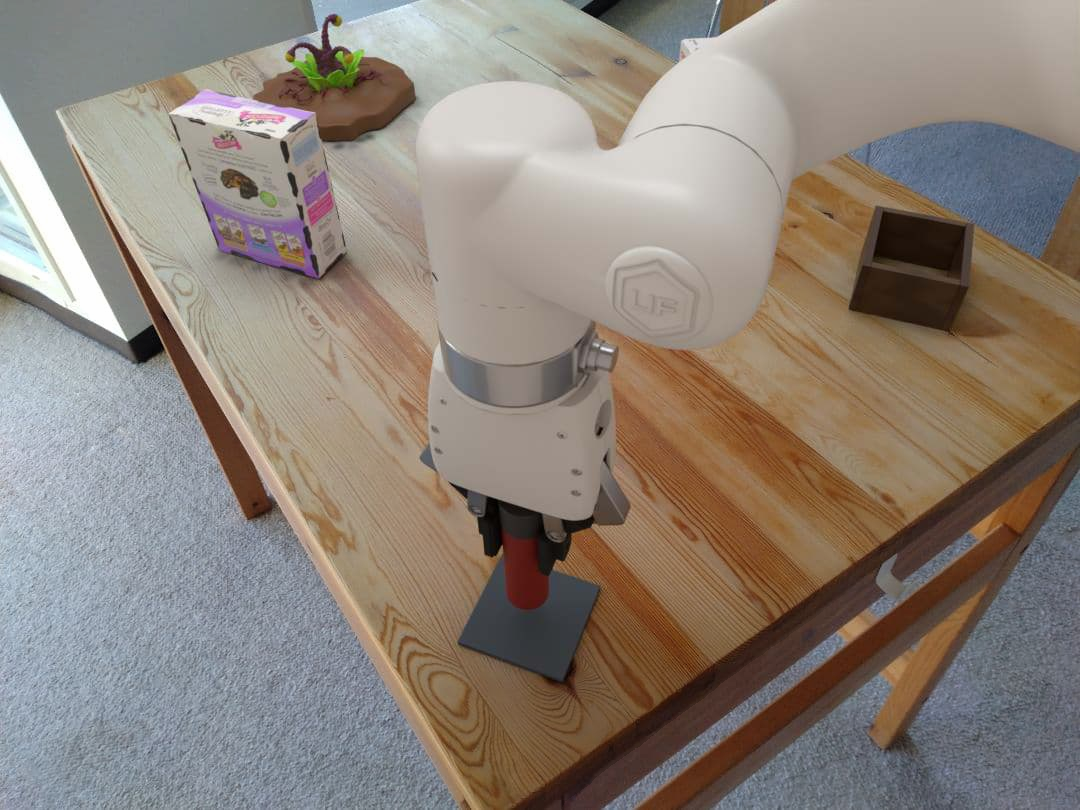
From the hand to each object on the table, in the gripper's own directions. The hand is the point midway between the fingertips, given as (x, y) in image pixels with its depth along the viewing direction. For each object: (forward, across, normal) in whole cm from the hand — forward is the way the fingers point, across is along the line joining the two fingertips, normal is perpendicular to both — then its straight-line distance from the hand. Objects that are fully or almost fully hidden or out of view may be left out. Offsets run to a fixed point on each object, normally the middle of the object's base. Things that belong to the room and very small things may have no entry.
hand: (525, 546), depth 56 cm
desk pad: (+9, 0, 0) cm, 9 cm away
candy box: (+9, +42, -32) cm, 54 cm away
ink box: (+9, +5, -70) cm, 70 cm away
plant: (+9, +54, -64) cm, 84 cm away
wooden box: (+9, -22, -49) cm, 54 cm away
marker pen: (+6, 0, 0) cm, 6 cm away
